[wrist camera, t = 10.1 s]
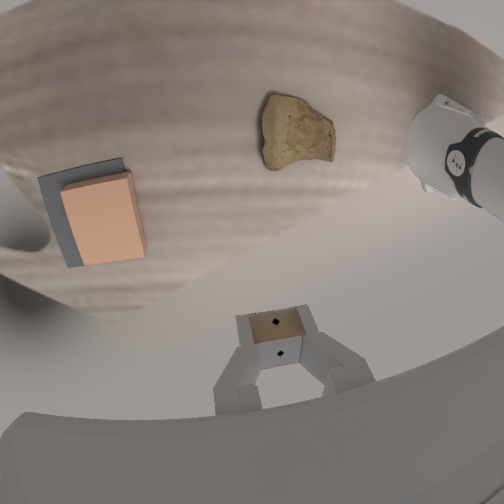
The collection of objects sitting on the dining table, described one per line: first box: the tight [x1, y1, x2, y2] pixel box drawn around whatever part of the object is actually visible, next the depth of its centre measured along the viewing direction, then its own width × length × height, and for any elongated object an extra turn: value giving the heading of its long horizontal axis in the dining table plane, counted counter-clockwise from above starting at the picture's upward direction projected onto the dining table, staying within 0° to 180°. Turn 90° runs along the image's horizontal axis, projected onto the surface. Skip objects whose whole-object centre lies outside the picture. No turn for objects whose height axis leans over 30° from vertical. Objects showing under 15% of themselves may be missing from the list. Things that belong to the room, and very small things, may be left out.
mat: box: [38, 158, 144, 268], centre depth 39 cm, size 14×16×1 cm
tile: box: [60, 171, 147, 265], centre depth 38 cm, size 3×12×10 cm
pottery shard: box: [262, 95, 336, 171], centre depth 37 cm, size 11×4×10 cm
